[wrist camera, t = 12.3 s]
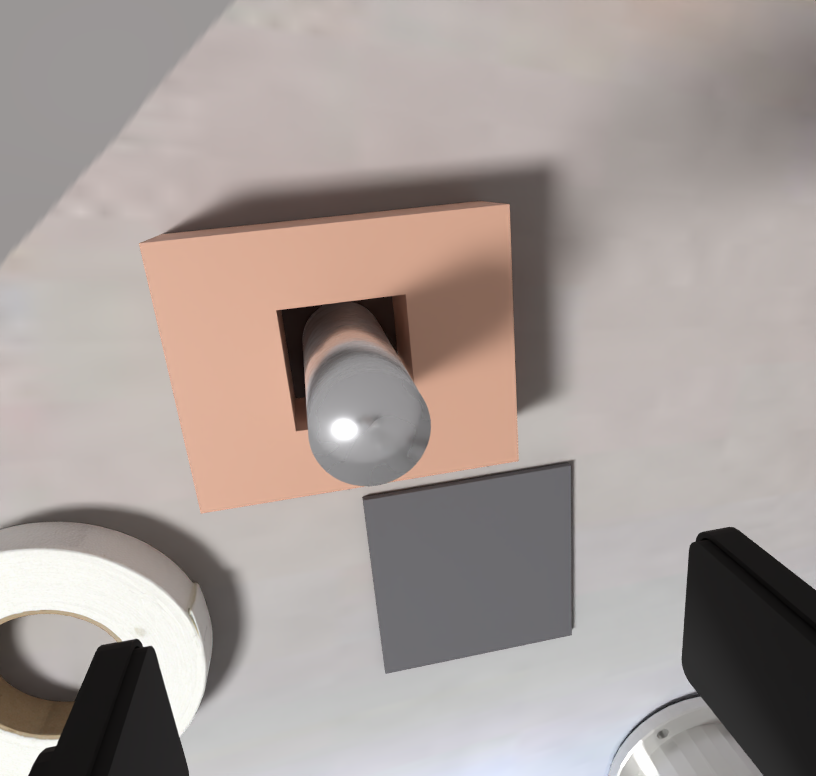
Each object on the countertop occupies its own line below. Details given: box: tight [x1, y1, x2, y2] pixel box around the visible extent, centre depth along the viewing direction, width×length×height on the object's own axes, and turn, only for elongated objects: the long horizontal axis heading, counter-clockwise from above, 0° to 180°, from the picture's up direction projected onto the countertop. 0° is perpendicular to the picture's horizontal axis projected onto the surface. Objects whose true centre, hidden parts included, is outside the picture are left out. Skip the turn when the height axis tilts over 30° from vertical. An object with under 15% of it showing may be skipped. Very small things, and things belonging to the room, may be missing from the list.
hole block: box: [139, 201, 519, 513], centre depth 29 cm, size 15×12×4 cm
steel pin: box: [302, 301, 431, 486], centre depth 26 cm, size 4×4×12 cm
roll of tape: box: [0, 522, 213, 776], centre depth 33 cm, size 16×15×3 cm
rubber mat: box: [363, 463, 572, 674], centre depth 37 cm, size 12×12×1 cm
